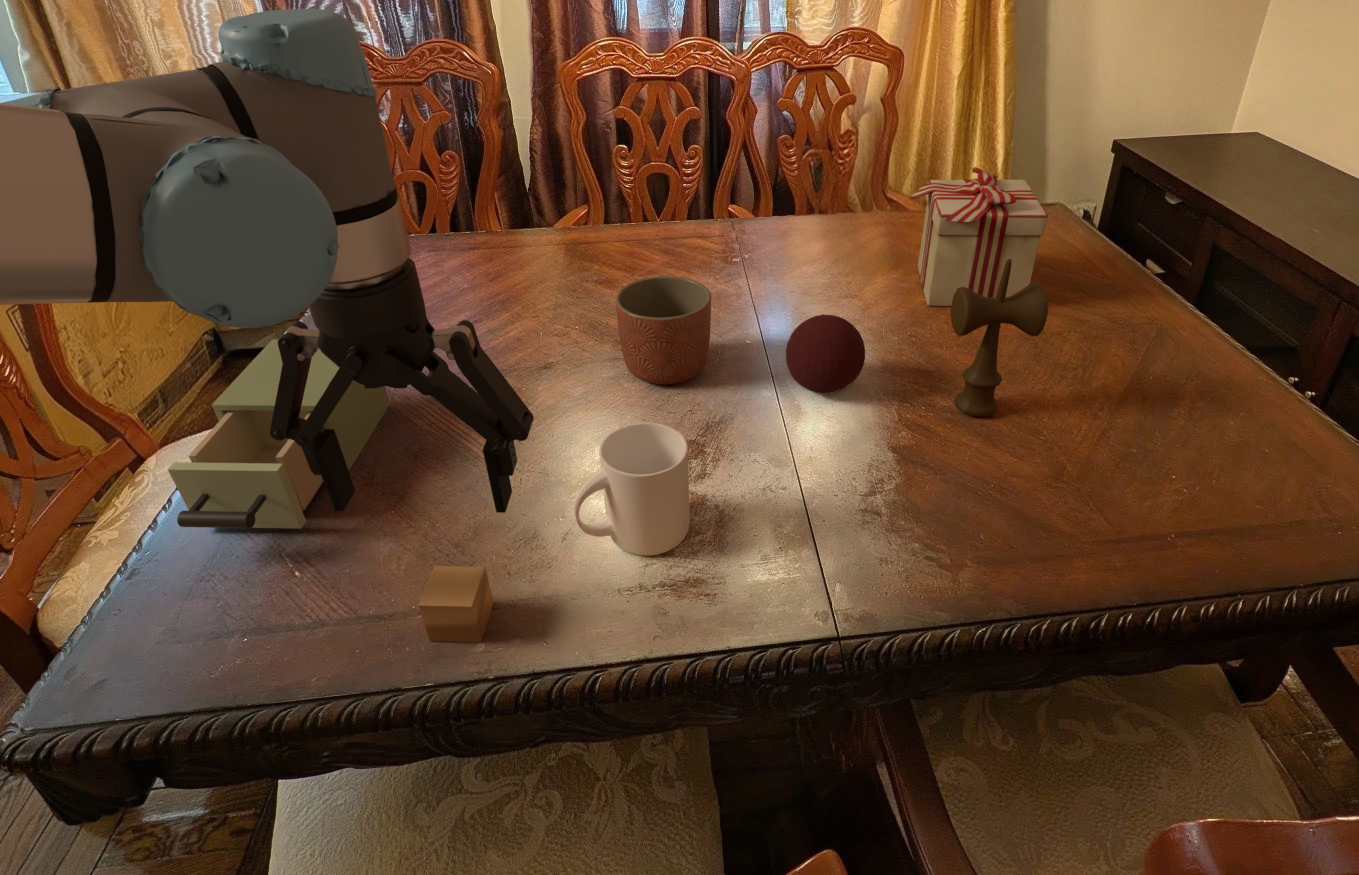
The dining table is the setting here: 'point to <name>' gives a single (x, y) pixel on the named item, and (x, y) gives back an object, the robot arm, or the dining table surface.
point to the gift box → (977, 236)
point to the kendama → (993, 335)
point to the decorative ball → (825, 354)
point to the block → (456, 604)
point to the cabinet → (308, 398)
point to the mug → (641, 489)
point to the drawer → (245, 476)
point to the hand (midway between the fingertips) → (424, 501)
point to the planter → (664, 328)
